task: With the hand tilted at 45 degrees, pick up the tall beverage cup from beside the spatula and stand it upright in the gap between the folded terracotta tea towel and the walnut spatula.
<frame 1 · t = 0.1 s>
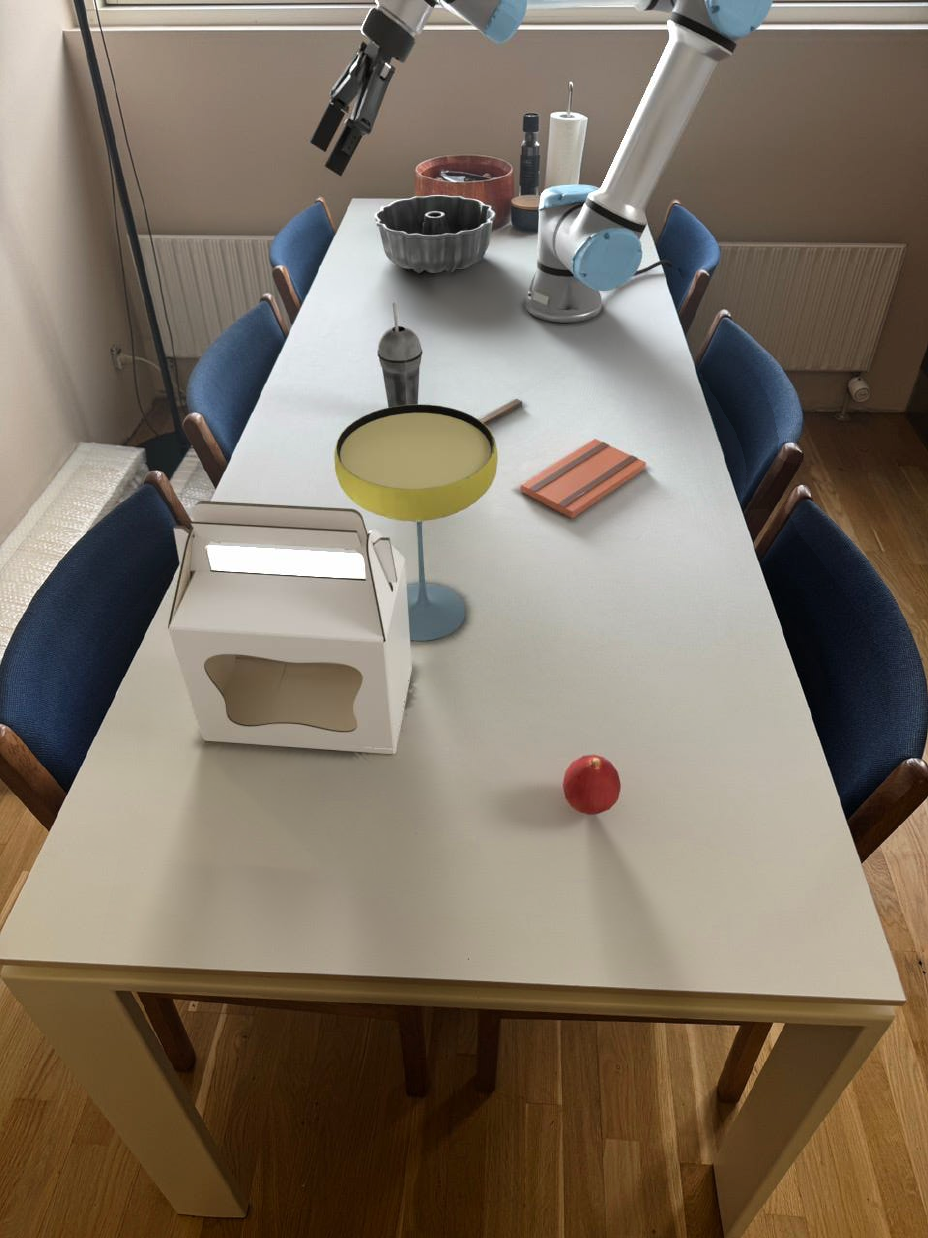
hand: (324, 158, 139), 36 cm above the table, tool tilted 35°, fingers open, 13 cm apart
spatula: (477, 426, 149), on the table
beverage cup: (403, 416, 152), on the table
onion: (588, 807, 94), on the table
bundt pan: (435, 260, 203), on the table
gable box: (311, 705, 104), on the table
cocktail glass: (423, 613, 116), on the table
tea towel: (583, 479, 138), on the table
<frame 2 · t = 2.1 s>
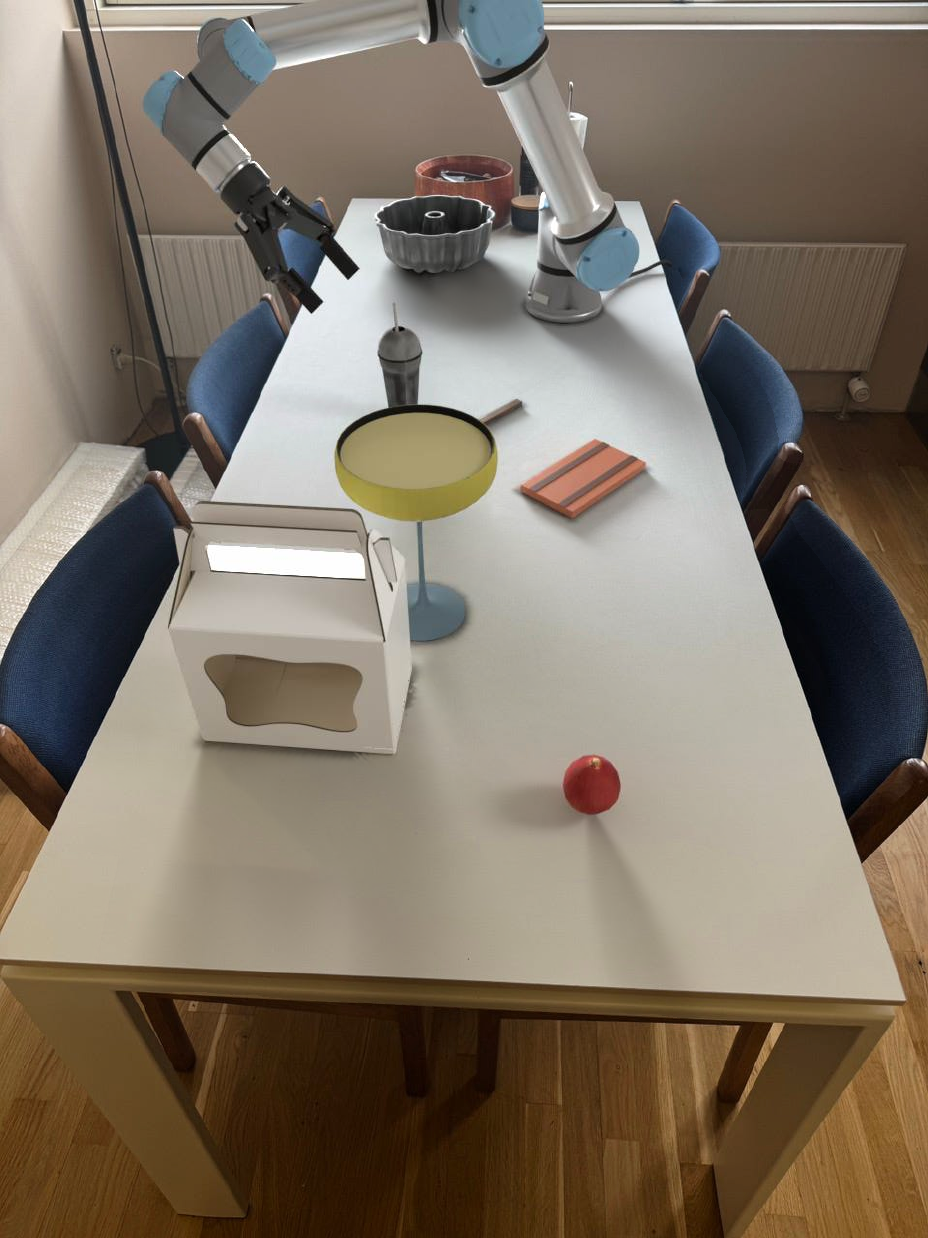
hand: (336, 290, 141), 20 cm above the table, tool tilted 45°, fingers open, 13 cm apart
nothing on the table moved.
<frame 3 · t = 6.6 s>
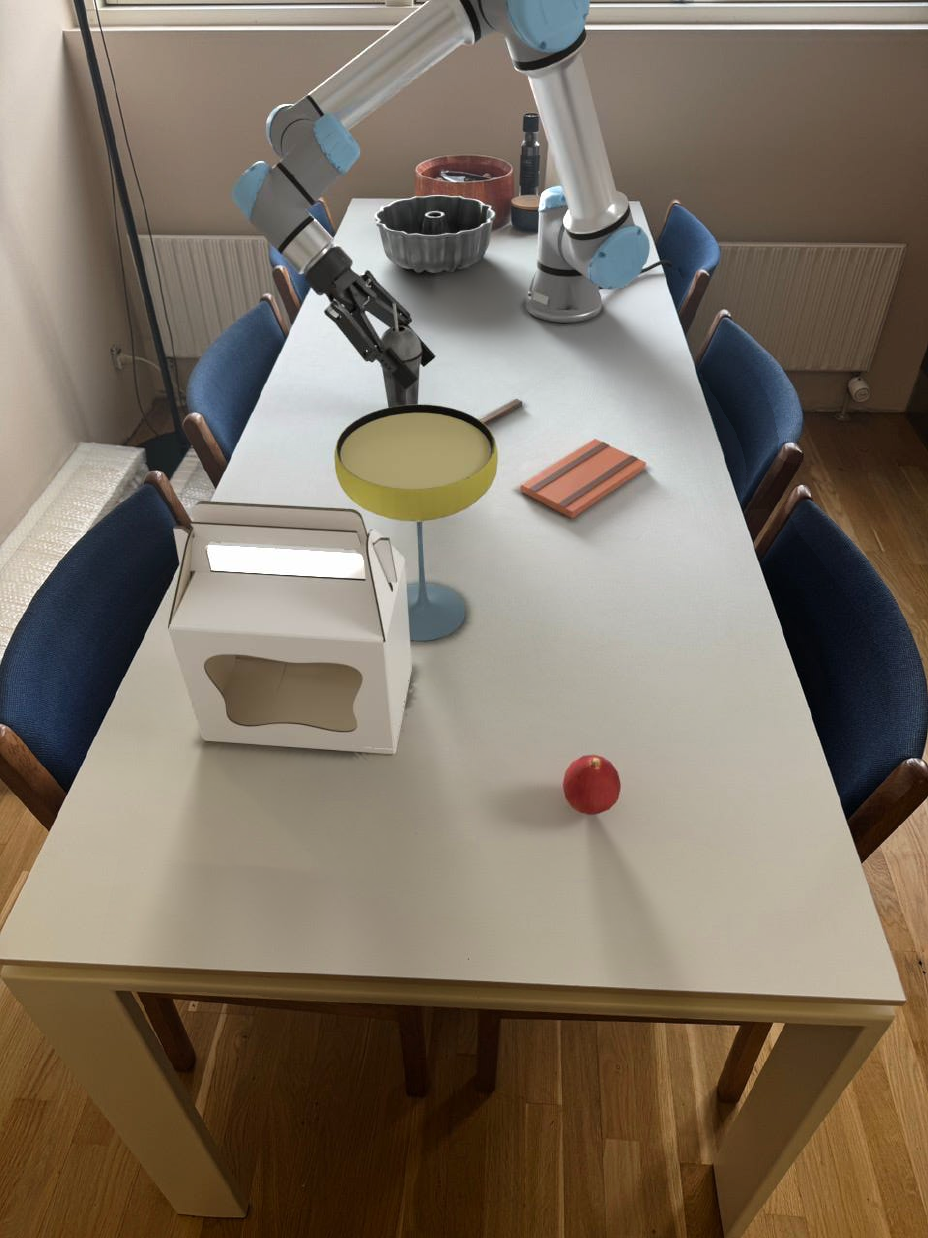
hand: (420, 372, 145), 9 cm above the table, tool tilted 45°, fingers closed on beverage cup, 7 cm apart
beverage cup: (403, 416, 152), on the table, touching gripper
everything else where it was.
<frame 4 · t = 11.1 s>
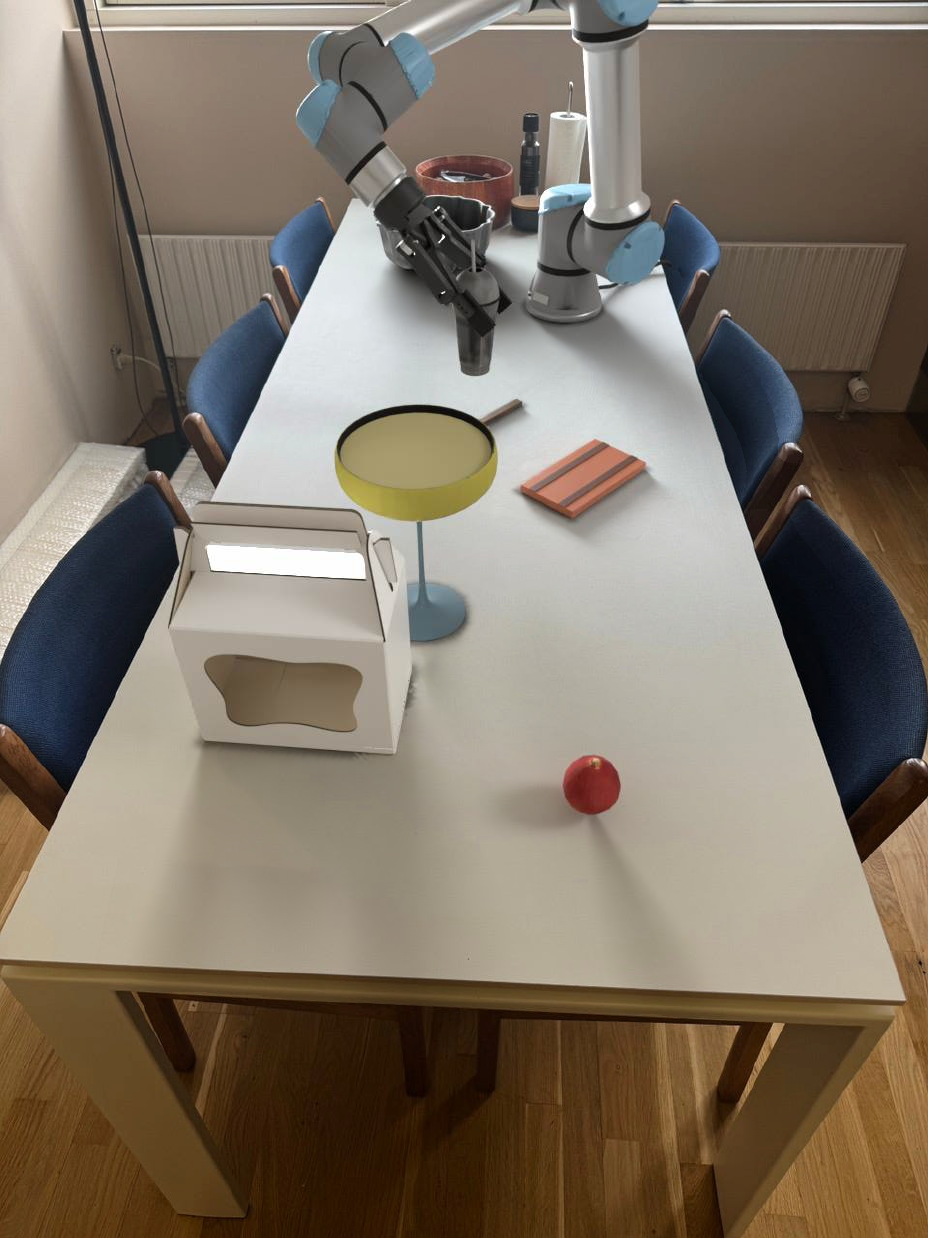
hand: (497, 319, 132), 20 cm above the table, tool tilted 45°, fingers closed on beverage cup, 7 cm apart
beverage cup: (475, 370, 139), point 12 cm above the table, touching gripper
everything else where it was.
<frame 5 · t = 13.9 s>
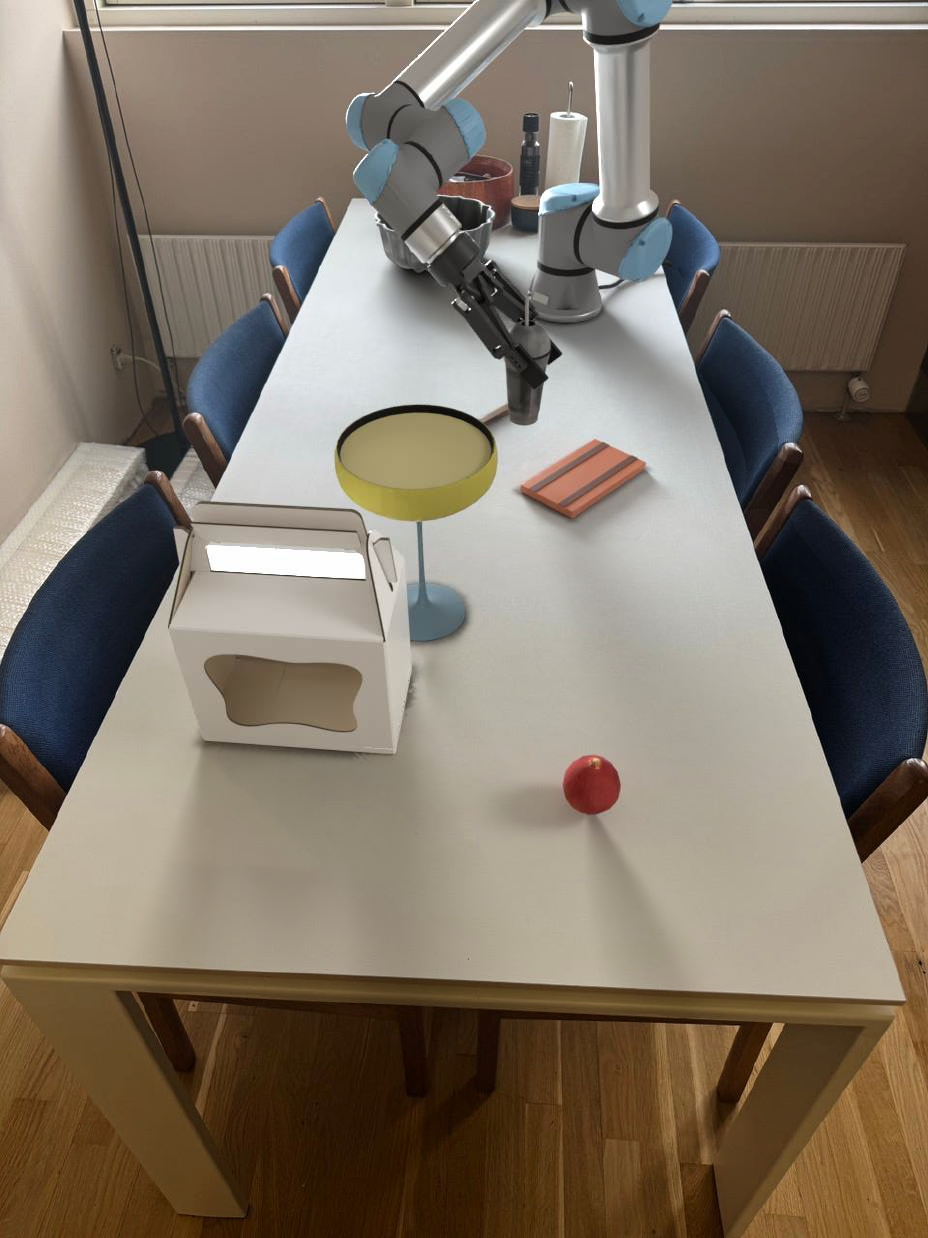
hand: (548, 371, 134), 14 cm above the table, tool tilted 45°, fingers closed on beverage cup, 7 cm apart
beverage cup: (523, 419, 140), point 5 cm above the table, touching gripper
everything else where it was.
when the fingers open (9 cm above the table, at t = 15.9 s): beverage cup stays where it is, on the table.
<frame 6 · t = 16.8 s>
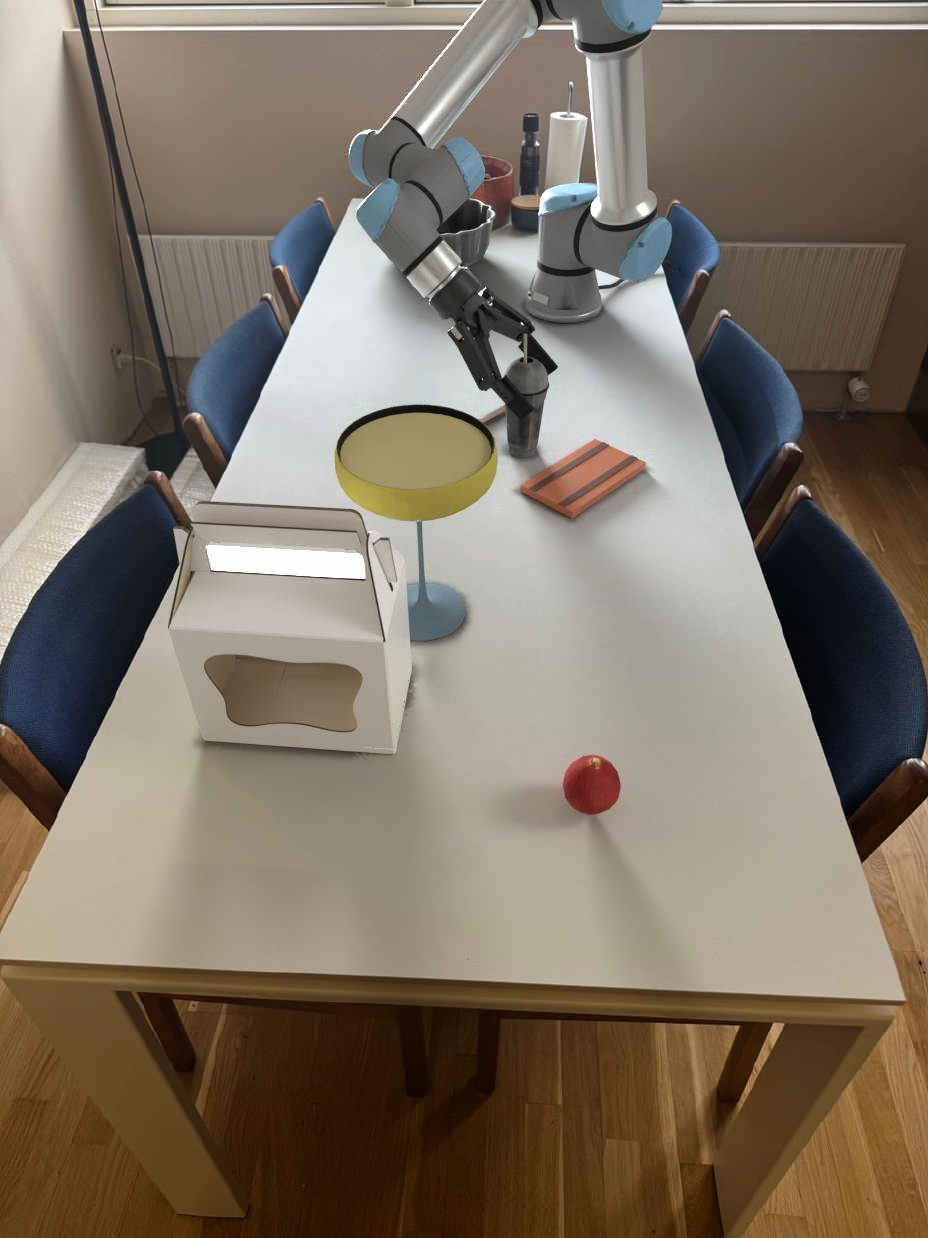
hand: (540, 392, 137), 10 cm above the table, tool tilted 45°, fingers open, 13 cm apart
beverage cup: (522, 450, 144), on the table
everything else where it was.
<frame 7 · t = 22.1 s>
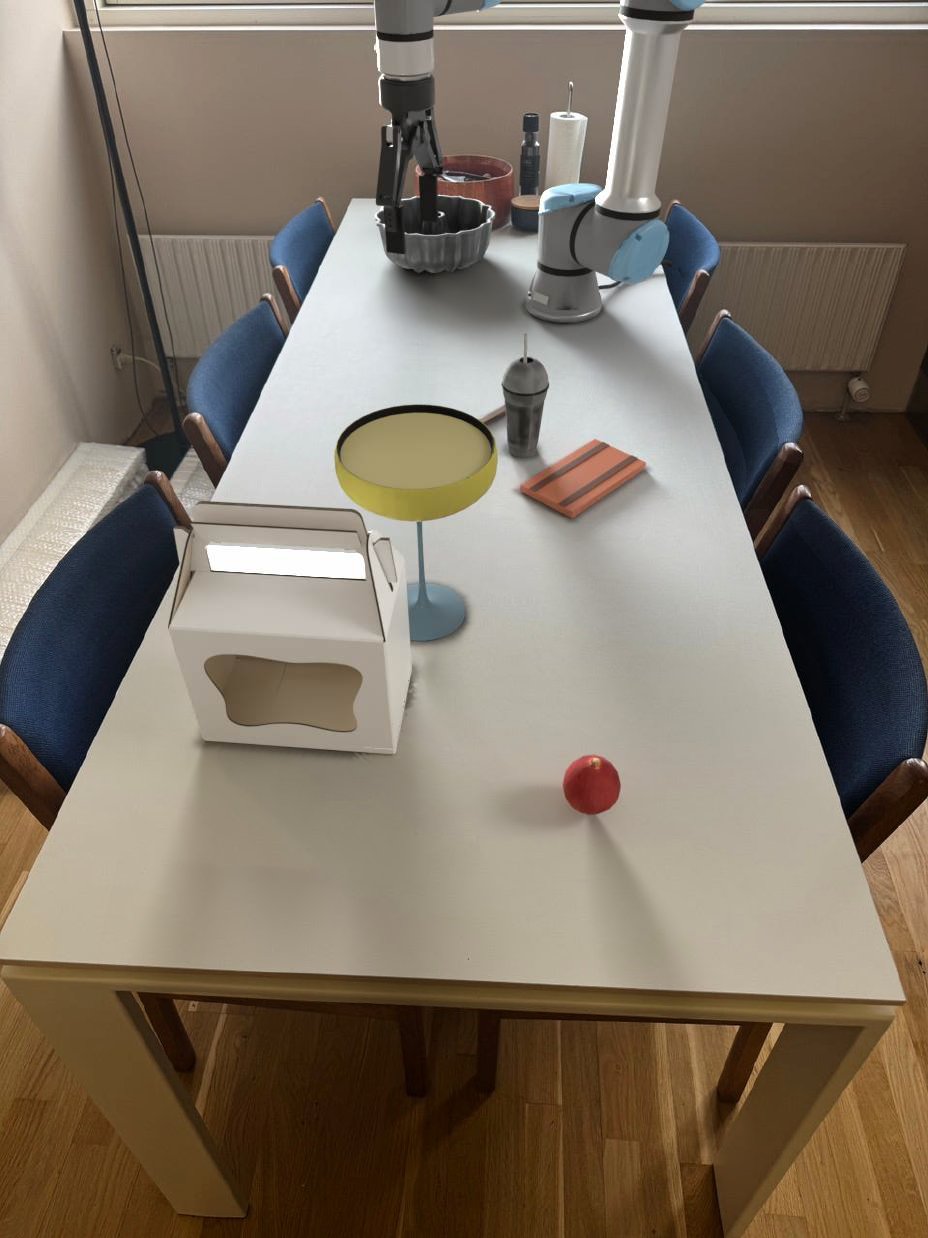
hand: (413, 236, 135), 29 cm above the table, tool pointing down, fingers open, 13 cm apart
nothing on the table moved.
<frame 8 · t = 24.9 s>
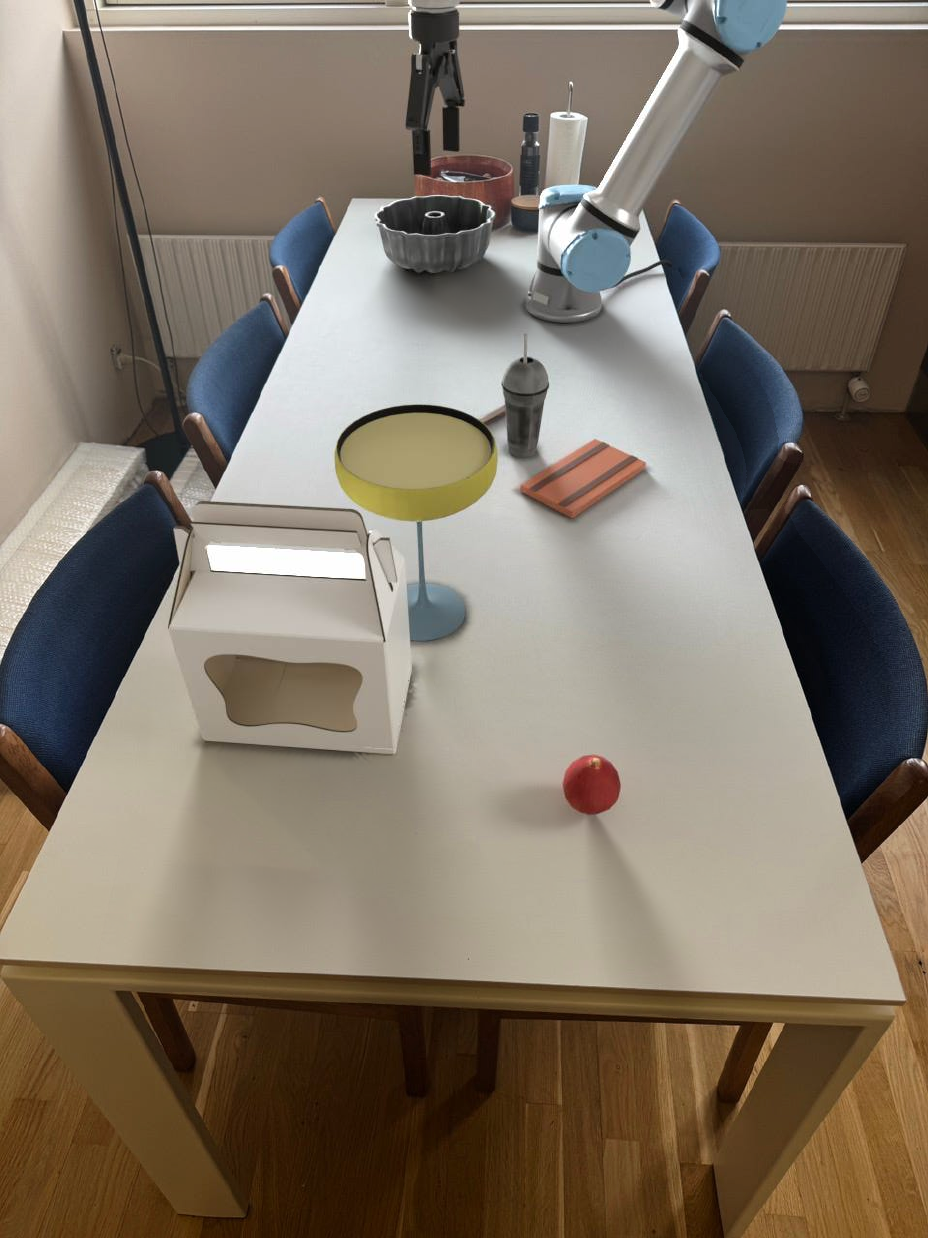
hand: (437, 162, 148), 33 cm above the table, tool pointing down, fingers open, 13 cm apart
nothing on the table moved.
at the end: beverage cup inside the target area (0.0 cm from its centre), on the table; beverage cup tilted 0°; the gripper is holding nothing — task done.
